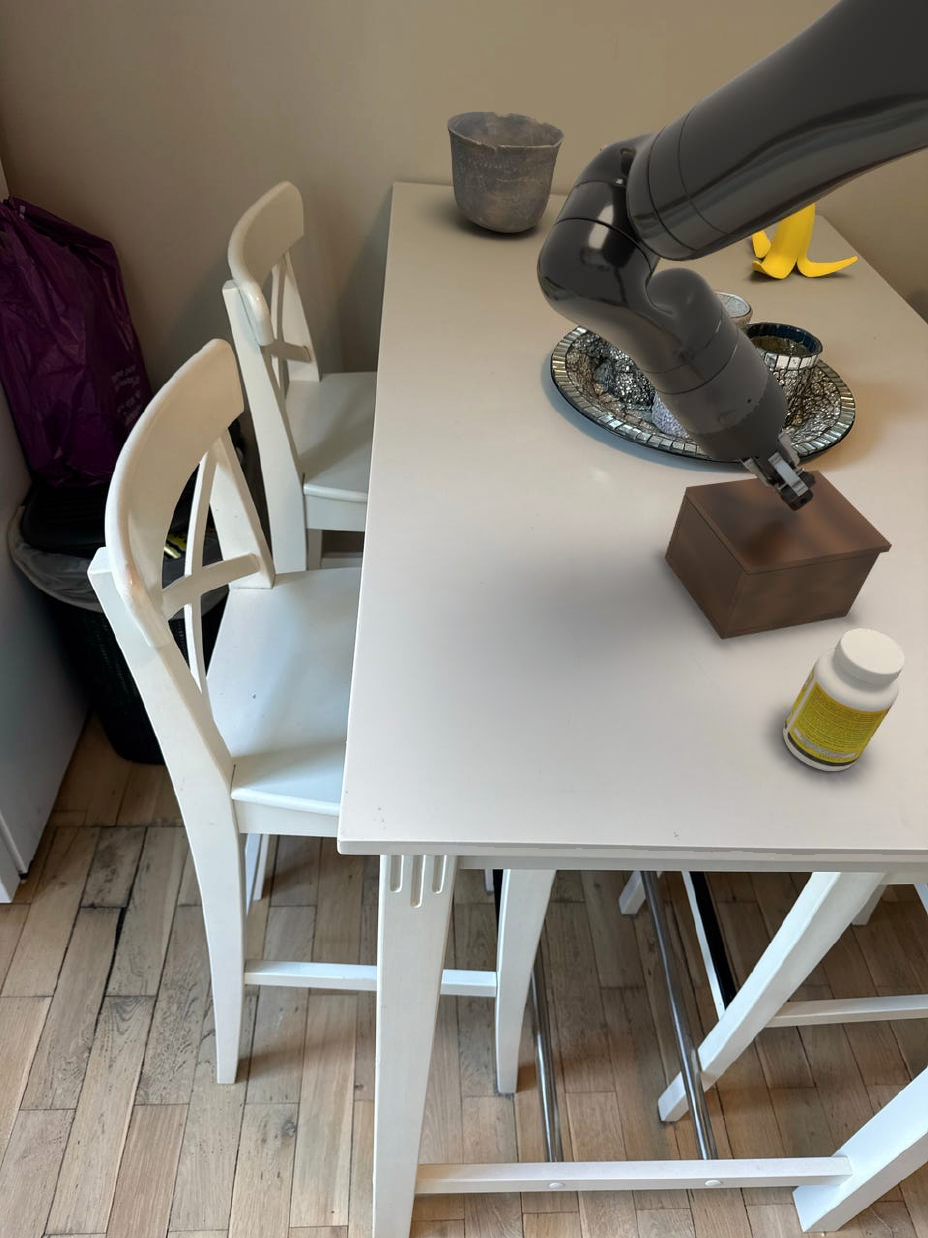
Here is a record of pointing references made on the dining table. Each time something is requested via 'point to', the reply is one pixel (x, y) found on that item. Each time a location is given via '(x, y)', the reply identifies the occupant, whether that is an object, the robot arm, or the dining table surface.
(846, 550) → the lid
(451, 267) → the dining table surface
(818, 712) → the pill bottle
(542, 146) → the bowl
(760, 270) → the banana peel
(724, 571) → the chest
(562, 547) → the dining table surface
